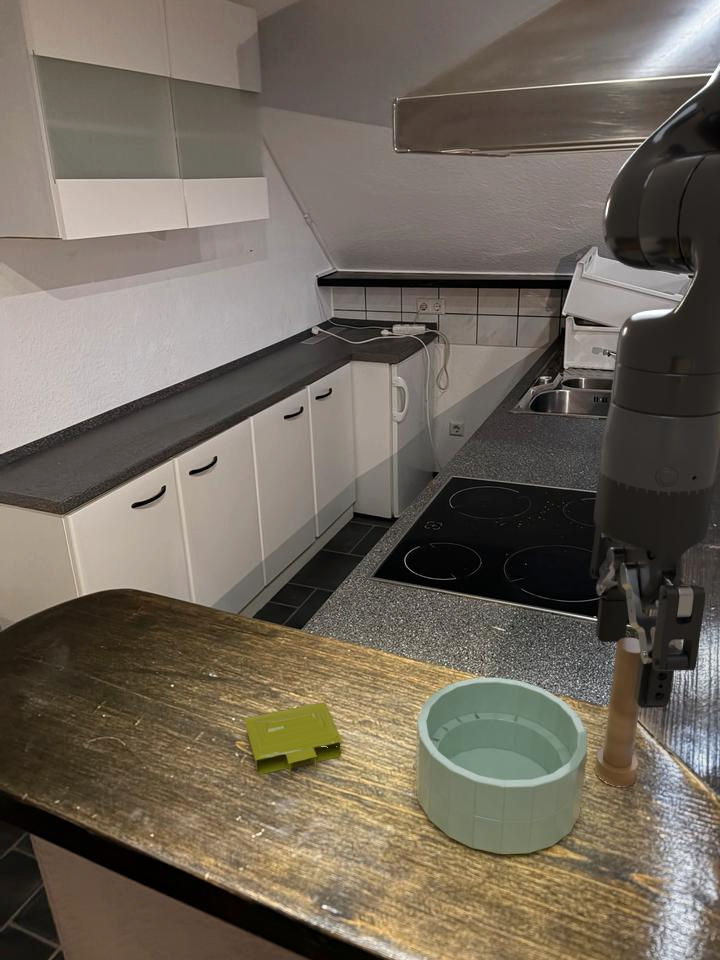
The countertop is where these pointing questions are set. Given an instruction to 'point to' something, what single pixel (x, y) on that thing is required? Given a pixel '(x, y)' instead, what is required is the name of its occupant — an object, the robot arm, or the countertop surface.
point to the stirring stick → (621, 719)
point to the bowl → (500, 764)
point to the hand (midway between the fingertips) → (628, 669)
